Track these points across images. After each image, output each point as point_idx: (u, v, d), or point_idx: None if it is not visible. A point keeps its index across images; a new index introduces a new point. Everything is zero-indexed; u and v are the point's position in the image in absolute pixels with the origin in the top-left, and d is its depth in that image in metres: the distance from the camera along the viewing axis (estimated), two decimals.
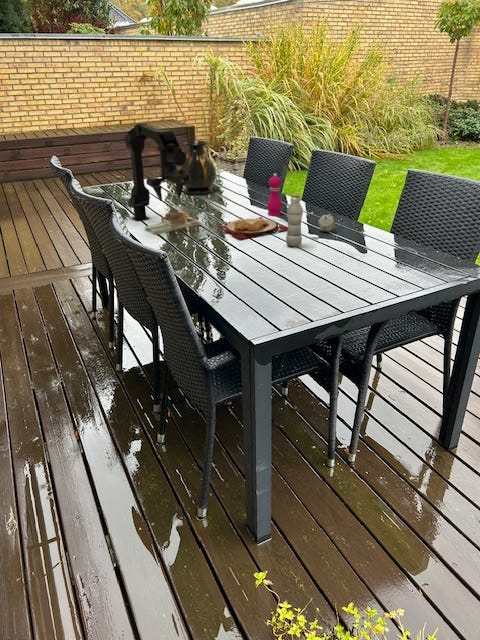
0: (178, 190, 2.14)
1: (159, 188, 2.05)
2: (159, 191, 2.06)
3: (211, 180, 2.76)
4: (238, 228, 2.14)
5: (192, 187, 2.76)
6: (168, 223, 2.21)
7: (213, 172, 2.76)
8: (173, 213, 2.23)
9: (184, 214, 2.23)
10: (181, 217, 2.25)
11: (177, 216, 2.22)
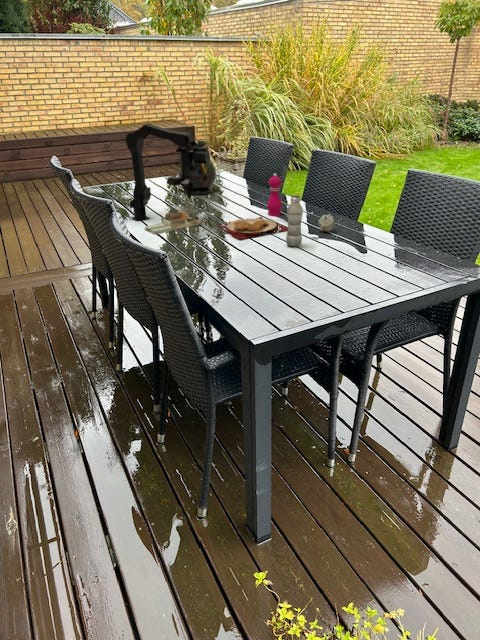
0: None
1: (188, 186, 2.19)
2: (187, 188, 2.21)
3: (211, 180, 2.76)
4: (238, 228, 2.14)
5: None
6: (168, 223, 2.21)
7: (213, 172, 2.76)
8: (173, 213, 2.23)
9: (184, 214, 2.23)
10: (181, 217, 2.25)
11: (177, 216, 2.22)
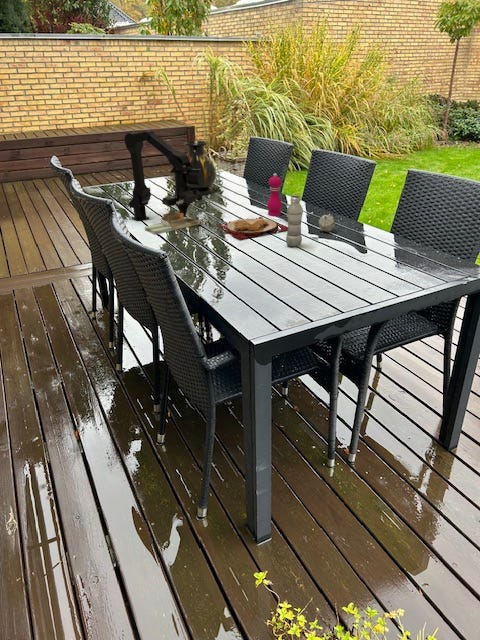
0: None
1: (182, 205, 2.21)
2: (182, 208, 2.23)
3: (211, 180, 2.76)
4: (238, 228, 2.14)
5: (192, 187, 2.76)
6: (165, 224, 2.20)
7: (213, 172, 2.76)
8: (171, 214, 2.22)
9: (182, 214, 2.23)
10: (179, 218, 2.24)
11: (175, 217, 2.21)
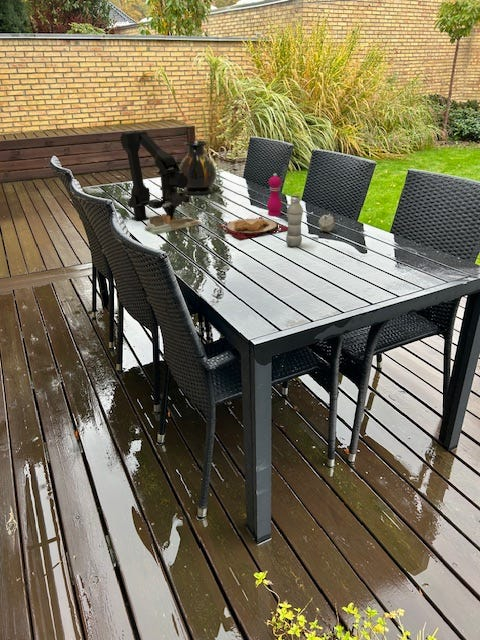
0: None
1: (169, 208, 2.17)
2: (169, 211, 2.19)
3: (211, 180, 2.76)
4: (238, 228, 2.14)
5: (192, 187, 2.76)
6: (152, 227, 2.16)
7: (213, 172, 2.76)
8: (157, 216, 2.18)
9: (168, 217, 2.19)
10: (165, 220, 2.20)
11: (161, 219, 2.17)
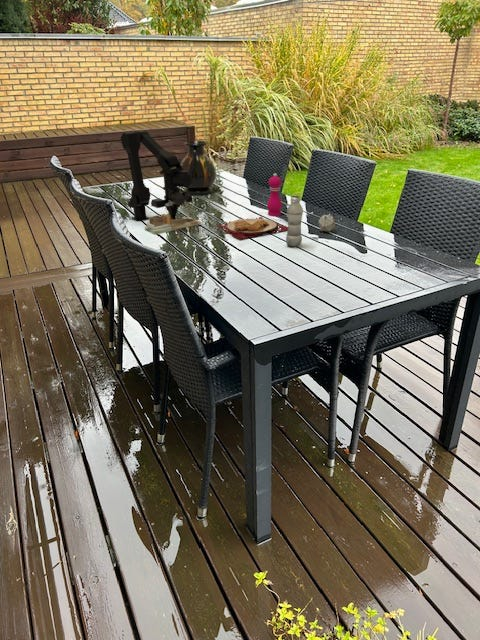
0: None
1: (172, 207, 2.18)
2: (171, 210, 2.20)
3: (211, 180, 2.76)
4: (238, 228, 2.14)
5: (192, 187, 2.76)
6: (151, 227, 2.16)
7: (213, 172, 2.76)
8: (157, 216, 2.18)
9: (168, 217, 2.19)
10: (165, 220, 2.20)
11: (161, 220, 2.17)
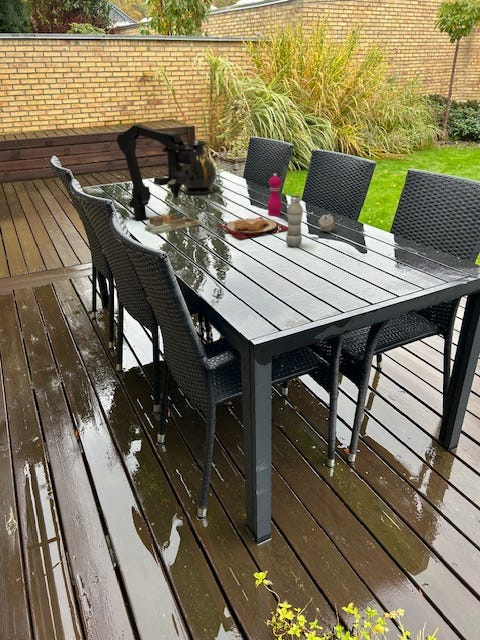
0: None
1: (174, 186, 2.18)
2: (174, 188, 2.20)
3: (211, 180, 2.76)
4: (238, 228, 2.14)
5: (192, 187, 2.76)
6: (151, 227, 2.16)
7: (213, 172, 2.76)
8: (157, 216, 2.18)
9: (168, 217, 2.19)
10: (165, 220, 2.20)
11: (161, 220, 2.17)
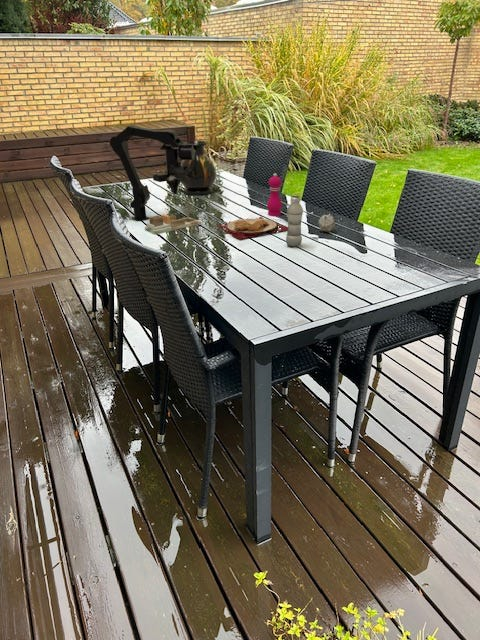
0: None
1: (173, 182, 2.24)
2: (173, 185, 2.25)
3: (211, 180, 2.76)
4: (238, 228, 2.14)
5: (192, 187, 2.76)
6: (151, 227, 2.16)
7: (213, 172, 2.76)
8: (157, 216, 2.18)
9: (168, 217, 2.19)
10: (165, 220, 2.20)
11: (161, 220, 2.17)
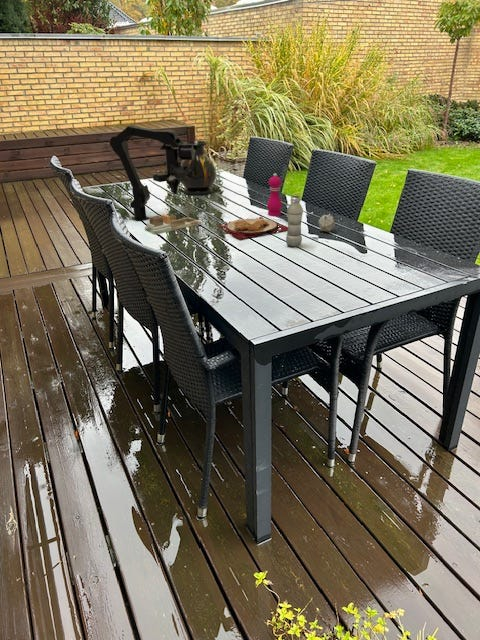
0: None
1: (173, 182, 2.24)
2: (173, 185, 2.25)
3: (211, 180, 2.76)
4: (238, 228, 2.14)
5: (192, 187, 2.76)
6: (151, 227, 2.16)
7: (213, 172, 2.76)
8: (157, 216, 2.18)
9: (168, 217, 2.19)
10: (165, 220, 2.20)
11: (161, 220, 2.17)
